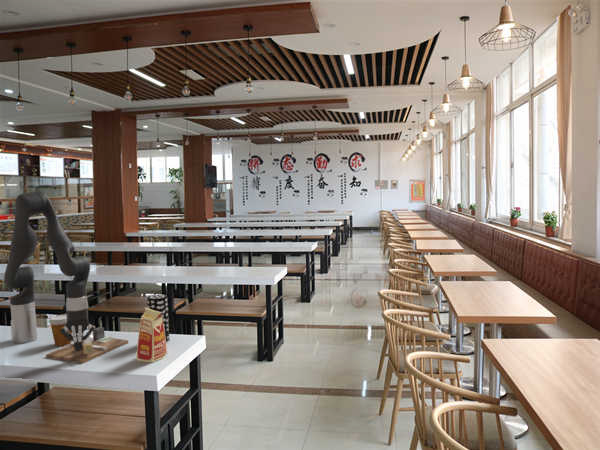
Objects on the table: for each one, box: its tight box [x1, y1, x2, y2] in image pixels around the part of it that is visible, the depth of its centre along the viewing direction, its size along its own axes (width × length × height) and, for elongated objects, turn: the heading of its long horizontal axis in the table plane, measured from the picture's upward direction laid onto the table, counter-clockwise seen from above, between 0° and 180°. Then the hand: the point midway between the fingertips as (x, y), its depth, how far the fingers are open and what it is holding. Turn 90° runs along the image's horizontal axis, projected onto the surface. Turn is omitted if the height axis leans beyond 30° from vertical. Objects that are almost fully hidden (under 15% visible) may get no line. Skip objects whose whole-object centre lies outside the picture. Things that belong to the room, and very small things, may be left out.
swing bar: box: [83, 333, 94, 354], centre depth 183 cm, size 15×4×4 cm, turn 25°
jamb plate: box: [45, 326, 129, 364], centre depth 188 cm, size 20×24×6 cm
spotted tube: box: [147, 293, 170, 343], centre depth 196 cm, size 8×8×20 cm
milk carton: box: [135, 307, 168, 363], centre depth 177 cm, size 9×9×20 cm
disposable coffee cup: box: [48, 313, 73, 347], centre depth 196 cm, size 10×10×12 cm
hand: (78, 350), depth 177 cm, fingers closed
